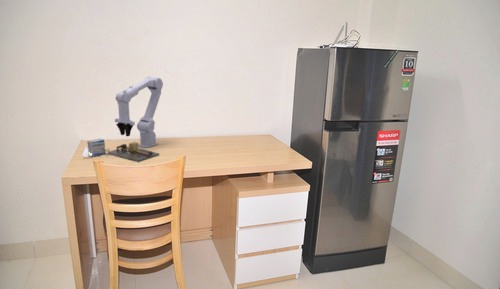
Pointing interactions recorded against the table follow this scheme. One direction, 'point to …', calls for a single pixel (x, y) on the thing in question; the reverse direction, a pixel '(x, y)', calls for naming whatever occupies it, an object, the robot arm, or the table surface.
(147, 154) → the beam
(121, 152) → the dark grey flat plate
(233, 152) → the table surface
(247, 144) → the table surface
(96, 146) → the medicine box
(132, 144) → the sliding head
